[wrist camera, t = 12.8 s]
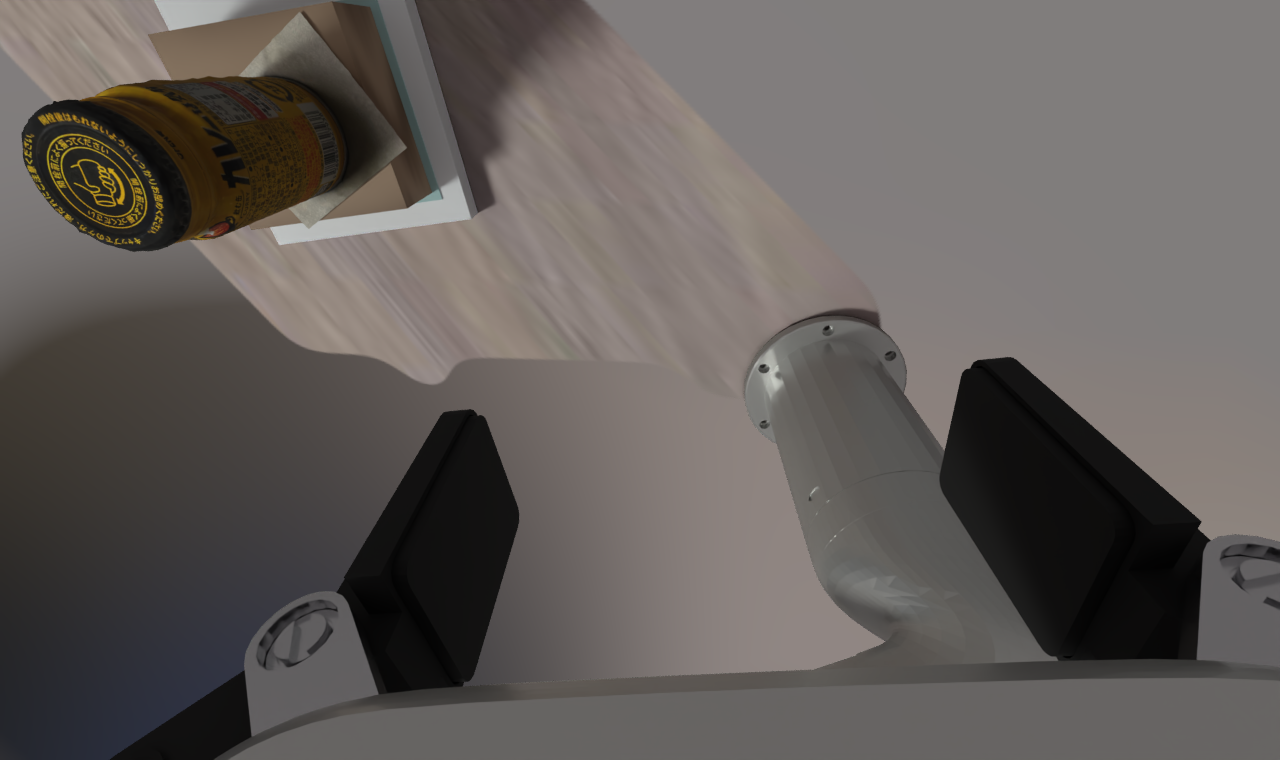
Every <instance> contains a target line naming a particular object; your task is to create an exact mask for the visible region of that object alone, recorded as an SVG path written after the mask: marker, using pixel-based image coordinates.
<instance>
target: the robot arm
mask: <svg viewBox="0 0 1280 760" xmlns="http://www.w3.org/2000/svg"><path fill="white" fill-rule="evenodd" d="M825 326H827V327H826V328H824V327H825ZM762 364H764V365H762ZM906 374H907V370H906V366H905V361H904V358H903V356H902V354H901V352H900V350H899V348H898V346H897V345H896V344H895V342H894V341H893V340H892V339H891V338H890V336H888V335H887V334H886V333H885V332H884V331H883V330H882V329H881V328H879V327H877V326H875V325H874V324H872V323H870V322H868V321H865V320H862V319H858V318H855V317H848V316H839V315H836V316H821V317H817V318H813V319H808V320H805V321H802V322H800V323H797V324H795V325H792V326H790V327H788V328H787V329H785V330H783V331H782V332H780V333H778V334H777V335H775V336H774V337H773V338H772V339H771V340H770V341H768V342H767V343H766V344H765V345H764V346H763V347H762V349H761V350H760V351H759V352H758V353H757V355H756V356H755V357H754V359H753V361H752V363H751V365H750V367H749V368H748V372H747V375H746V378H745V383H744V398H745V405H746V408H747V411H748V415H749V417H750V419H751V421H752V422H753V424H754V426H755V427H756V428H757V429H758V430H759V432H760V433H761V434H762V435H764V436H765V437H766V438H768V439H769V440H770V441H772V442H774V443H776V444H777V446H778V450H779V453H780V457H781V460H782V463H783V467H784V470H785V474H786V477H787V480H788V484H789V487H790V491H791V494H792V497H793V501H794V504H795V507H796V511H797V514H798V518H799V521H800V524H801V528H802V531H803V535H804V538H805V541H806V545H807V548H808V551H809V554H810V558H811V561H812V564H813V567H814V569H815V572H816V575H817V577H818V580H819V581H820V583H821V585H822V587H823V588H824V590H825V591H826V593H827V594H828V595H829V597H830V598H831V599H832V600H833V601H834V603H835V604H836V605H837V606H838V607H839V608H840V609H841V610H842V611H844V612H845V613H846V614H847V615H848V616H849V617H850V618H852V619H853V620H854V621H856V622H857V623H858V624H860V625H861V626H863V627H864V628H865V629H867V630H868V631H870V632H871V633H873V634H874V635H876V636H878V637H879V638H881V639H883V640H884V641H886V642H884V643H883V644H881V645H879V646H876V647H874V648H871V649H869V650H866V651H863V652H860V653H858V654H857V655H856V656H853V657H850V658H847V659H844V660H841V661H838V662H835V663H833V664H829V665H826V666H823V667H820V668H817V669H814V670H796V671H772V672H748V673H725V674H701V675H679V676H656V677H635V678H615V679H592V680H571V681H552V682H529V683H511V684H496V685H480V686H465V687H463V683H464V682H468V681H470V680H471V678H472V677H473V675H474V672H475V669H476V666H477V663H478V659H479V656H480V652H481V649H482V646H483V642H484V639H485V636H486V632H487V629H488V626H489V622H490V619H491V615H492V612H493V609H494V605H495V602H496V598H497V595H498V592H499V589H500V585H501V582H502V579H503V575H504V572H505V568H506V565H507V562H508V558H509V555H510V552H511V548H512V545H513V542H514V538H515V535H516V531H517V528H518V524H519V510H518V506H517V503H516V501H515V498H514V496H513V492H512V490H511V487H510V485H509V482H508V479H507V476H506V473H505V470H504V468H503V465H502V462H501V459H500V457H499V454H498V452H497V448H496V446H495V443H494V440H493V437H492V435H491V432H490V429H489V427H488V424H487V421H486V419H485V418H484V416H482V415H479V416H477V414H476V412H475V411H474V410H471V409H469V410H458V411H449V412H444V413H443V414H442V415H441V416H440V418H439V419H438V421H437V423H436V424H435V426H434V428H433V429H432V431H431V433H430V434H429V436H428V438H427V439H426V441H425V443H424V444H423V446H422V448H421V449H420V451H419V453H418V455H417V456H416V458H415V459H414V461H413V463H412V464H411V466H410V468H409V469H408V471H407V473H406V475H405V476H404V478H403V480H402V481H401V483H400V485H399V486H398V488H397V490H396V491H395V493H394V495H393V496H392V498H391V500H390V501H389V503H388V505H387V506H386V508H385V510H384V511H383V513H382V515H381V516H380V518H379V520H378V521H377V523H376V525H375V527H374V528H373V530H372V531H371V533H370V535H369V537H368V538H367V540H366V541H365V543H364V545H363V547H362V548H361V550H360V552H359V553H358V555H357V557H356V558H355V560H354V562H353V563H352V565H351V567H350V568H349V570H348V572H347V573H346V575H345V577H344V578H345V580H344V581H343V583H342V584H341V586H340V588H339V590H338V591H337V593H335V592H325V591H321V592H317V593H313V594H309V595H306V596H304V597H302V598H300V599H298V600H295V601H293V602H291V603H290V604H288V605H287V606H285V607H284V608H282V609H281V610H279V611H278V612H277V613H275V614H274V615H273V616H272V617H271V618H270V619H269V620H268V621H267V622H266V623H264V624H263V626H262V627H261V628H260V629H259V631H258V632H257V633H256V635H255V636H254V637H253V639H252V641H251V643H250V645H249V647H248V649H247V651H246V655H245V664H244V668H245V670H244V671H242V672H241V673H240V674H238V675H236V676H235V677H234V678H232V679H231V680H229V681H228V682H226V683H224V684H223V685H221V686H220V687H218V688H217V689H215V690H214V691H212V692H211V693H209V694H208V695H206V696H205V697H203V698H202V699H200V700H198V701H197V702H195V703H194V704H192V705H191V706H189V707H188V708H186V709H185V710H183V711H182V712H180V713H179V714H177V715H176V716H174V717H173V718H171V719H170V720H168V721H167V722H165V723H164V724H162V725H161V726H159V727H158V728H156V729H155V730H153V731H151V732H150V733H148V734H147V735H145V736H144V737H142V738H141V739H139V740H138V741H136V742H135V743H133V744H132V745H130V746H129V747H127V748H126V749H124V750H123V751H121V752H120V753H118V754H117V755H115V756H114V757H113V758H111V759H110V760H1280V542H1278V541H1274V540H1270V539H1266V538H1261V537H1258V536H1247V535H1236V534H1235V535H1227V536H1220V537H1217V538H1215V539H1213V540H1212V541H1211V540H1210V539H1208V538H1207V537H1206V536H1205V535H1204V534H1203V533H1202V532H1200V530H1198V527H1199V525H1200V524H1201V521H1200V520H1199V519H1198V518H1197V517H1196V516H1195V515H1193V514H1192V513H1191V512H1190V511H1189V510H1188V509H1187V508H1185V507H1184V506H1183V505H1182V504H1181V503H1180V502H1179V501H1177V500H1176V499H1175V498H1174V497H1173V496H1172V495H1170V494H1169V493H1168V492H1167V491H1166V490H1165V489H1164V488H1163V487H1161V486H1160V485H1159V484H1158V483H1157V482H1156V481H1155V480H1153V479H1152V478H1151V477H1150V476H1149V475H1148V474H1147V473H1145V472H1144V471H1143V470H1142V469H1141V468H1140V467H1138V466H1137V465H1136V464H1135V463H1134V462H1133V461H1132V460H1130V459H1129V458H1128V457H1127V456H1126V455H1125V454H1123V453H1122V452H1121V451H1120V450H1119V449H1118V448H1117V447H1115V446H1114V445H1113V444H1112V443H1111V442H1110V441H1109V440H1107V439H1106V438H1105V437H1104V436H1103V435H1102V434H1101V433H1100V432H1098V431H1097V430H1096V429H1095V428H1094V427H1093V426H1092V425H1090V424H1089V423H1088V422H1087V421H1086V420H1085V419H1083V418H1082V417H1081V416H1080V415H1079V414H1078V413H1077V412H1076V411H1074V410H1073V409H1072V408H1071V407H1070V406H1069V405H1068V404H1066V403H1065V402H1064V401H1063V400H1062V399H1061V398H1059V397H1058V396H1057V395H1056V394H1055V393H1054V392H1053V391H1051V390H1050V389H1049V388H1048V387H1047V386H1046V385H1045V384H1043V383H1042V382H1041V381H1040V380H1039V379H1038V378H1037V377H1036V376H1034V375H1033V374H1032V373H1031V372H1030V371H1029V370H1027V369H1026V368H1025V367H1024V366H1023V365H1022V364H1020V363H1019V362H1018V361H1017V360H1016V359H1014V358H1011V357H1005V358H996V359H986V360H977V361H975V362H974V363H973V364H972V366H971V369H966V370H965V371H964V372H963V373H962V376H961V380H960V384H959V389H958V394H957V398H956V403H955V407H954V412H953V416H952V421H951V425H950V430H949V434H948V439H947V444H946V448H945V451H944V450H943V448H942V447H941V445H940V444H939V442H938V441H937V440H936V438H935V437H934V435H933V434H932V433H931V431H930V430H929V428H928V427H927V426H926V425H925V423H924V421H923V420H922V419H921V417H920V416H919V414H918V413H917V412H916V410H915V409H914V407H913V406H912V404H911V403H910V402H909V400H908V399H907V397H906V396H905V395H904V390H905V386H906Z"/></svg>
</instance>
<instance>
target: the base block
mask: <svg viewBox="0 0 1280 760" xmlns="http://www.w3.org/2000/svg"><path fill="white" fill-rule="evenodd" d="M299 12H300V13H301V14H302V15H303V16H304V18H305V19H306V20H307V21H308V23H309V24H310V25H311V26H312V28H313V29H314V30H315V31H316V33H317V34H318V35H319V36H320V37H321V38H322V39H323V41H324V42H325V43H326V44H327V46H328V47H329V48H330V50H331V51H332V53H333V54H334V55H335V56H336V58H337V59H338V60H339V61H340V62H341V63H342V64H343V66H344V67H345V68H346V69H347V70H348V71H349V72H350V73H351V76H352V77H353V78H354V80H355V81H356V82H357V83H358V85H359V86H360V87H361V88H362V89H363V91H364V92H365V93H366V95H367V96H368V97H369V98H370V99H371V101H372V102H373V103H374V105H375V106H376V108H377V109H378V110H379V111H380V113H381V114H382V115H383V116H384V118H385V119H386V120H387V122H388V123H389V124H390V126H391V127H392V128H393V129H394V131H395V132H396V134H397V135H398V137H399V138H400V139H401V140H402V142H403V143H404V144H405V146H406V147H407V148H406V149H405V150H404V151H403V152H401V153H400V154H399V155H398V156H396V157H395V158H394V159H393V160H392V161H390V162H389V163H388V164H387V165H386V166H385V167H384V168H382V169H381V170H380V171H379V172H377V173H376V174H375V175H374V176H372V177H371V178H370V179H369V180H367V181H366V182H365V183H364V184H363V185H361V186H360V187H359V188H358V189H357V190H356V191H354V192H353V193H352V194H351V195H350V196H348V197H347V198H346V199H345V200H344V201H343V202H341V203H340V204H339V205H338V206H336V207H335V208H334V209H332V210H331V211H330V212H329V213H328V214H327V215H325V216H324V217H323V218H322V219H320V220H327V219H335V218H342V217H349V216H357V215H364V214H371V213H379V212H386V211H393V210H400V209H407V208H409V207H410V206H412V205H414V204H415V203H417V202H418V201H420V200H422V199H423V198H425V197H426V196H428V195H429V194H431V193H432V191H431V188H430V185H429V182H428V179H427V176H426V173H425V170H424V167H423V164H422V161H421V158H420V155H419V152H418V149H417V146H416V143H415V140H414V137H413V134H412V131H411V128H410V125H409V122H408V119H407V116H406V113H405V110H404V107H403V104H402V101H401V98H400V95H399V92H398V89H397V86H396V83H395V80H394V77H393V74H392V71H391V68H390V65H389V62H388V59H387V56H386V53H385V50H384V47H383V44H382V41H381V38H380V35H379V32H378V29H377V26H376V23H375V20H374V17H373V14H372V11H371V8H370V7H368V6H361V5H354V4H347V3H340V2H333V1H331V2H325V3H320V4H314V5H309V6H303V7H297V8H292V9H286V10H281V11H275V12H270V13H264V14H259V15H253V16H248V17H242V18H237V19H231V20H226V21H220V22H215V23H209V24H204V25H198V26H193V27H187V28H182V29H176V30H171V31H165V32H160V33H154V34H149V35H148V36H149V38H150V40H151V41H152V43H153V45H154V47H155V49H156V51H157V53H158V55H159V57H160V58H161V60H162V62H163V64H164V66H165V68H166V70H167V72H168V73H169V75H170V77H171V79H172V80H187V79H191V78H196V79H199V78H204V77H207V76H212V77H217V78H224V77H228V76H239V75H240V74H241V73H242V72H243V71H244V70H245V69H246V67H247V66H248V65H249V64H250V63H251V62H252V61H253V59H254V58H255V57H256V56H257V55H258V54H259V53H260V52H261V51H262V50H263V49H264V48H265V47H266V46H267V45H268V44H269V43H270V42H271V41H272V39H273V38H274V37H275V36H276V35H277V34H279V33H280V32H281V31H282V30H283V29H284V27H285V26H286V25H287V24H288V23H289V22H290V21H291V20H292V19H293V18H294V17H295V16H296V15H297V14H298V13H299ZM301 80H303V81H304V79H301ZM310 81H312V80H310ZM320 220H319V221H320ZM298 223H302V222H301V221H300V220H299V219H298V218H297V217H296V215H295V214H294V213H293V212H292V211H291V210H290V209H289V208H288V209H285V210H283V211H280V212H278V213H276V214H273V215H271V216H268V217H266V218H264V219H261V220H258V221H256V222H254V223H252V224H250V225H249V226H250V228H251V230H255V229H262V228H269V227H276V226H284V225H291V224H298Z"/></svg>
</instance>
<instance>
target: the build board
mask: <svg viewBox="0 0 1280 760" xmlns="http://www.w3.org/2000/svg"><path fill="white" fill-rule="evenodd" d="M154 1H155V3H156V5H157V7H158V9H159V11H160V13H161V15H162V17H163V19H164V21H165V23H166V25H167V27H168V29H169V31H171V30H176V29H182V28H187V27H193V26H198V25H204V24H209V23H215V22H220V21H226V20H231V19H237V18H242V17H248V16H253V15H259V14H264V13H270V12H275V11H281V10H286V9H292V8H297V7H303V6H309V5H314V4H320V3H325V2H331V1H333V2H340V3H347V4H354V5H361V6H368V7H370V8H371V11H372V14H373V17H374V20H375V23H376V26H377V29H378V32H379V35H380V38H381V41H382V44H383V47H384V50H385V53H386V56H387V59H388V62H389V65H390V68H391V71H392V74H393V77H394V80H395V83H396V86H397V89H398V92H399V95H400V98H401V101H402V104H403V107H404V110H405V113H406V116H407V119H408V122H409V125H410V128H411V131H412V134H413V137H414V140H415V143H416V146H417V149H418V152H419V155H420V158H421V161H422V164H423V167H424V170H425V173H426V176H427V179H428V182H429V185H430V188H431V191H432V193H431V194H429V195H428V196H426V197H425V198H423V199H422V200H420V201H418V202H417V203H415V204H414V205H412V206H410V207H409V208H407V209H400V210H393V211H386V212H379V213H371V214H364V215H357V216H349V217H342V218H335V219H327V220H320V221H318V222H317V223H316V224H314V225H313V226H312V227H311V228H309V229H308V228H307V227H306V226H305V225H304V224H303V223H298V224H291V225H284V226H276V227H270V228H271V230H272V232H273V234H274V236H275V238H276V240H277V242H278V244H279V245H282V244H290V243H297V242H305V241H312V240H320V239H327V238H334V237H342V236H349V235H357V234H364V233H372V232H379V231H386V230H394V229H401V228H409V227H416V226H423V225H431V224H438V223H446V222H453V221H461V220H468V219H472V218H473V217H474V216H475V215H476V214H478V212H477V208H476V205H475V202H474V198H473V195H472V191H471V188H470V185H469V181H468V178H467V175H466V171H465V168H464V164H463V161H462V158H461V154H460V151H459V148H458V144H457V141H456V138H455V134H454V131H453V127H452V124H451V121H450V117H449V114H448V111H447V107H446V104H445V101H444V97H443V94H442V90H441V87H440V84H439V80H438V77H437V74H436V70H435V67H434V64H433V60H432V57H431V53H430V50H429V47H428V43H427V40H426V37H425V33H424V30H423V26H422V23H421V20H420V16H419V13H418V10H417V6H416V3H415V0H154Z"/></svg>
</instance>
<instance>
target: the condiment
mask: <svg viewBox="0 0 1280 760" xmlns="http://www.w3.org/2000/svg"><path fill="white" fill-rule="evenodd" d="M301 79H304V81H303V80H301ZM310 80H312V81H310ZM22 142H23V158H24V162H25V166H26V167H27V169H28V171H29V173H30V175H31V177H32V179H33V181H34V182H35V184H36V186H37V188H38V189H39V191H40V192H41V193H42V194H43V196H44V197H45V198H46V200H47V201H48V202H49V204H50V205H51V206H52V207H53V208H54V209H55V210H56V211H57V212H58V213H60V214H61V215H62V216H63V217H64V218H65V219H66V220H67V221H68V222H70V223H71V224H73V225H74V226H75V227H76V228H77V229H78V230H79V232H82V233H85V234H87V235H90V236H91V237H93V238H95V239H96V240H98V241H100V242H102V243H104V244H107V245H111V246H115V247H118V248H122V249H126V250H129V251H133V252H135V251H153V250H159V249H162V248H165V247H168V246H170V245H172V244H174V243H178V242H182V241H186V240H207V239H215V238H217V237H220V236H223V235H225V234H227V233H230V232H232V231H235V230H237V229H240V228H242V227H245V226H247V225H250V224H252V223H254V222H256V221H258V220H261V219H264V218H266V217H268V216H271V215H273V214H276V213H278V212H280V211H283V210H285V209H288V208H289V209H290V210H291V211H292V212H293V213H294V214H295V215H296V217H297V218H298V219H299V220H300V221H301V222H302V223H303V224H304V225H305V226H306V227H307V228H308V229H309V228H311V227H312V226H313V225H314V224H316V223H317V222H318V221H319V220H320V219H322V218H323V217H324V216H325V215H327V214H328V213H329V212H330V211H331V210H332V209H334V208H335V207H336V206H338V205H339V204H340V203H341V202H343V201H344V200H345V199H346V198H347V197H348V196H350V195H351V194H352V193H353V192H354V191H356V190H357V189H358V188H359V187H360V186H361V185H363V184H364V183H365V182H366V181H367V180H369V179H370V178H371V177H372V176H374V175H375V174H376V173H377V172H379V171H380V170H381V169H382V168H384V167H385V166H386V165H387V164H388V163H389V162H390V161H392V160H393V159H394V158H395V157H396V156H398V155H399V154H400V153H401V152H403V151H404V150H405V149H406V148H407V147H406V146H405V144H404V143H403V142H402V140H401V139H400V138H399V137H398V135H397V134H396V132H395V131H394V129H393V128H392V127H391V126H390V124H389V123H388V122H387V120H386V119H385V118H384V116H383V115H382V114H381V113H380V111H379V110H378V109H377V108H376V106H375V105H374V103H373V102H372V101H371V99H370V98H369V97H368V96H367V95H366V93H365V92H364V91H363V89H362V88H361V87H360V86H359V85H358V83H357V82H356V81H355V80H354V78H353V77H352V76H351V73H350V72H349V71H348V70H347V69H346V68H345V67H344V66H343V64H342V63H341V62H340V61H339V60H338V59H337V58H336V56H335V55H334V54H333V53H332V51H331V50H330V48H329V47H328V46H327V44H326V43H325V42H324V41H323V39H322V38H321V37H320V36H319V35H318V34H317V33H316V31H315V30H314V29H313V28H312V26H311V25H310V24H309V23H308V21H307V20H306V19H305V18H304V16H303V15H302V14H301V13H300V12H299V13H298V14H297V15H296V16H295V17H294V18H293V19H292V20H291V21H290V22H289V23H288V24H287V25H286V26H285V27H284V29H283V30H282V31H281V32H280V33H279V34H277V35H276V36H275V37H274V38H273V39H272V41H271V42H270V43H269V44H268V45H267V46H266V47H265V48H264V49H263V50H262V51H261V52H260V53H259V54H258V55H257V56H256V57H255V58H254V59H253V61H252V62H251V63H250V64H249V65H248V66H247V67H246V69H245V70H244V71H243V72H242V73H241V74H240V75H239V76H228V77H224V78H217V77H212V76H207V77H204V78H199V79H196V78H191V79H187V80H172V81H170V80H150V81H147V82H144V83H134V84H124V85H118V86H116V87H111V88H109V89H106V90H104V91H103V92H101V93H99V94H97V95H96V96H95V97H89V98H85V99H82V100H80V101H79V100H63V101H59V102H56V101H54V102H53V104H51V105H46V106H44V107H42V108H41V109H39V110H38V111H37V112H35V114H34V115H33V116H32V117H31V118H30V119H29V120H28V123H27V124H26V125H25V127H24V130H23V132H22Z"/></svg>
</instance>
